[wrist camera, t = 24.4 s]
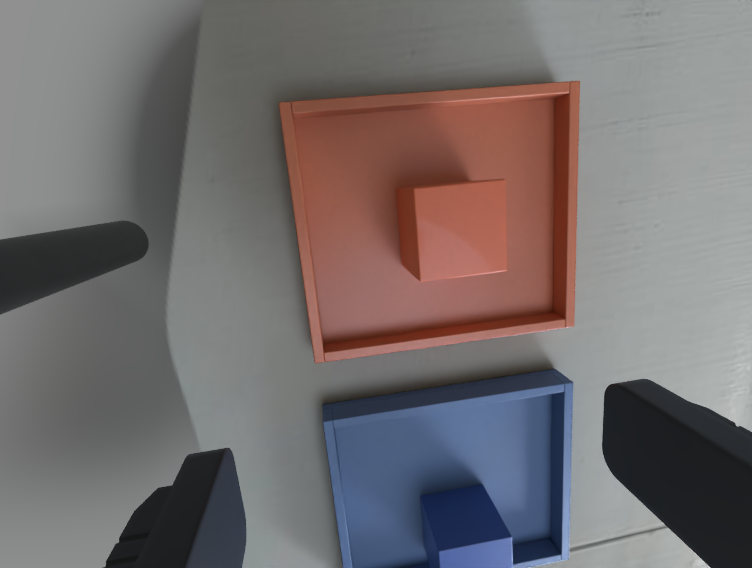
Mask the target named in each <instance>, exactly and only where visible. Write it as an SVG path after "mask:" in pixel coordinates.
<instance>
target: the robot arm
mask: <svg viewBox="0 0 752 568" xmlns="http://www.w3.org/2000/svg"><path fill="white" fill-rule="evenodd" d="M602 449H603V455H604V458H605V461H606V463H607V466H608V467H609V469H610V471H611V472H612V474H613V475H614V476H615V477H616V478H617V479H618V480H619V481H620V482H621V483H622V484H623V485H624V486H625V487H626V488H627V489H628V490H629V491H630V492H631V493H632V494H633V495H634V496H636V497H637V498H638V499H639V500H640V501H641V502H642V503H643V504H644V505H645V506H646V507H647V508H648V509H649V510H650V511H651V512H652V513H654V514H655V515H656V516H657V517H658V518H659V519H660V520H661V521H662V522H663V523H664V524H665V525H666V526H667V527H668V528H669V529H670V530H672V531H673V532H674V533H675V534H676V535H677V536H678V537H679V538H680V539H681V540H682V541H683V542H684V543H685V544H686V545H687V546H688V547H690V548H691V549H692V550H693V551H694V552H695V553H696V554H697V555H698V556H699V557H700V558H701V559H702V560H703V561H704V562H705V563H706V564H708V565H709V566H710V567H711V568H752V432H750V431H749V430H747V429H745V428H743V427H741V426H739V427H737V426H736V425H735V423H734V422H732V421H730V420H728V419H727V418H725V417H723V416H721V415H719V414H718V413H716V412H714V411H712V410H710V409H708V408H706V407H703V406H700V405H697V404H694V403H691V402H689V401H687V400H685V399H683V398H681V397H680V396H678V395H676V394H674V393H672V392H671V391H669V390H667V389H665V388H663V387H662V386H660V385H658V384H656V383H654V382H653V381H651V380H648V379H639V380H633V381H627V382H621V383H616V384H611V385H609V386H608V387H607V389H606V391H605V395H604V417H603V441H602ZM245 546H246V518H245V512H244V506H243V501H242V496H241V491H240V486H239V481H238V476H237V471H236V466H235V461H234V457H233V453H232V451H231V449H230V448H224V449H218V450H212V451H206V452H200V453H194V454H189V455H188V456H187V457H186V458H185V460H184V462H183V464H182V467H181V469H180V471H179V473H178V475H177V477H176V479H175V481H174V483H173V485H172V486H167V487H161V488H158V489H157V490H156V491H154V492H153V493H152V494H151V496H149V497H148V498H147V499H146V500H145V502H143V504H141V505H140V506H139V507H138V508H137V509H136V510H135V511H134V513H133V515H132V516H131V518H130V520H129V522H128V523H127V525H126V527H125V529H124V530H123V532H122V534H121V536H120V538H119V543H117V544H116V545H115V547H114V548H113V550H112V552H111V554H110V556H109V557H108V559H107V561H106V567H104V568H242V564H243V558H244V553H245Z"/></svg>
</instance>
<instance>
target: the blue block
mask: <svg viewBox="0 0 752 568" xmlns="http://www.w3.org/2000/svg"><path fill="white" fill-rule="evenodd" d="M420 499H421V511H422V524H423V536H424V548H425V552H426V555H427V559H428V562H429V566H430V568H513V555H512V536H511V534H510V532H509V530H508V528H507V527H506V525H505V523H504V521H503V519H502V518H501V516H500V514H499V512H498V510H497V509H496V507H495V505H494V503H493V502H492V500H491V498H490V496H489V494H488V493H487V491H486V489H485V487H484V485H483V484H481V485H476V486H470V487H465V488H459V489H454V490H449V491H443V492H438V493H432V494H427V495H421V496H420Z"/></svg>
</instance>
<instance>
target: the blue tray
mask: <svg viewBox="0 0 752 568" xmlns="http://www.w3.org/2000/svg"><path fill="white" fill-rule="evenodd" d="M572 405H573V382H572V381H571V380H569V379H568V378H567V377H565V376H564V375H563V374H561V373H560V372H559V371H557V370H556V369H551V370H545V371H538V372H532V373H525V374H519V375H512V376H506V377H499V378H493V379H486V380H480V381H473V382H467V383H460V384H454V385H447V386H441V387H434V388H428V389H421V390H415V391H408V392H402V393H395V394H389V395H382V396H376V397H369V398H363V399H356V400H350V401H343V402H337V403H330V404H324V405H323V426H324V434H325V441H326V448H327V455H328V462H329V470H330V477H331V484H332V491H333V498H334V506H335V513H336V520H337V527H338V534H339V541H340V549H341V556H342V563H343V568H430V566H429V562H428V559H427V555H426V552H425V548H424V536H423V524H422V511H421V499H420V496H421V495H427V494H432V493H438V492H443V491H449V490H454V489H459V488H465V487H470V486H476V485H481V484H483V485H484V487H485V489H486V491H487V493H488V494H489V496H490V498H491V500H492V502H493V503H494V505H495V507H496V509H497V510H498V512H499V514H500V516H501V518H502V519H503V521H504V523H505V525H506V527H507V528H508V530H509V532H510V534H511V536H512V555H513V568H528V567H533V566H538V565H543V564H548V563H552V562H557V561H561V560H562V561H563V560H567V559H569V534H570V491H571V448H572Z"/></svg>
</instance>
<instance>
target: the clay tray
mask: <svg viewBox="0 0 752 568" xmlns="http://www.w3.org/2000/svg"><path fill="white" fill-rule="evenodd" d="M579 97H580V81H570V82H554V83H540V84H526V85H512V86H498V87H484V88H470V89H456V90H442V91H428V92H414V93H400V94H386V95H373V96H359V97H345V98H331V99H317V100H303V101H292V102H291V103H290V102H279V110H280V117H281V125H282V132H283V139H284V146H285V153H286V160H287V168H288V175H289V182H290V189H291V196H292V204H293V211H294V218H295V225H296V232H297V240H298V247H299V254H300V261H301V268H302V275H303V283H304V290H305V297H306V304H307V311H308V319H309V326H310V333H311V340H312V347H313V354H314V362H315V363H321V362H329V361H336V360H343V359H350V358H357V357H364V356H371V355H378V354H385V353H392V352H399V351H406V350H413V349H421V348H428V347H435V346H442V345H449V344H456V343H463V342H470V341H477V340H484V339H491V338H498V337H505V336H512V335H519V334H526V333H533V332H540V331H547V330H554V329H561V328H565V327H566V328H567V327H574V313H575V270H576V227H577V184H578V141H579ZM490 179H505V181H506V231H507V271H505V272H497V273H489V274H481V275H473V276H465V277H457V278H449V279H441V280H433V281H425V282H420V281H419V280H418V279H416V278H415V277H414V276H413V275H412V274H411V273H410V272H409V271H408V270H407V269H405V268H404V267H403V266H402V260H401V248H400V236H399V223H398V211H397V199H396V188H402V187H412V186H422V185H432V184H442V183H453V182H463V181H474V180H490Z"/></svg>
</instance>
